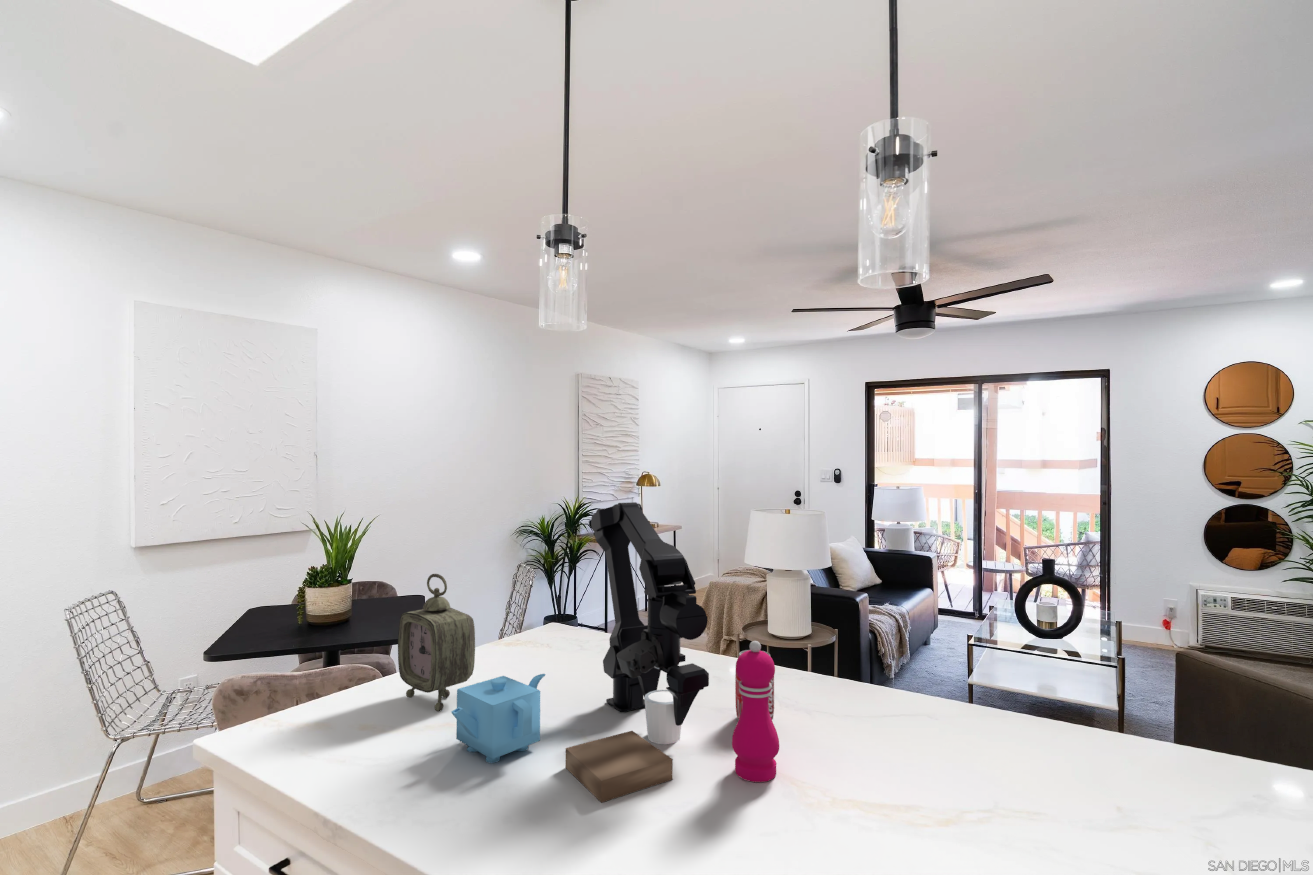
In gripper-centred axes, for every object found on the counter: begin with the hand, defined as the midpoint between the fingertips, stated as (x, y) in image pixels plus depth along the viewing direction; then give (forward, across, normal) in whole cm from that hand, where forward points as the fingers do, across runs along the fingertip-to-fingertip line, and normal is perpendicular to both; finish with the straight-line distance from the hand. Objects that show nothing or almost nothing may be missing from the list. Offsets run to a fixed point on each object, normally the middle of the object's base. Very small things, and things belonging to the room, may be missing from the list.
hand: (663, 715), depth 111 cm
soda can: (+4, +3, +18) cm, 19 cm away
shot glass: (+4, 0, 0) cm, 4 cm away
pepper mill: (+4, +18, +5) cm, 19 cm away
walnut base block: (+4, +7, -13) cm, 15 cm away
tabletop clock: (+4, -38, -29) cm, 48 cm away
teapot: (+4, -11, -25) cm, 28 cm away
